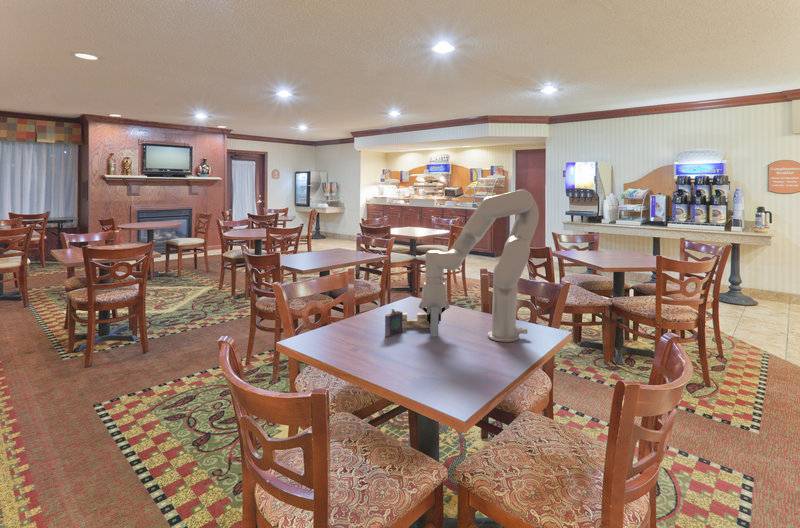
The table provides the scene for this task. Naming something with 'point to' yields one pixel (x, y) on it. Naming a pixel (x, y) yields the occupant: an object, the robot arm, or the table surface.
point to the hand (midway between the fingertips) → (433, 322)
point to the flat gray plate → (434, 320)
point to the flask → (393, 323)
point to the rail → (415, 321)
